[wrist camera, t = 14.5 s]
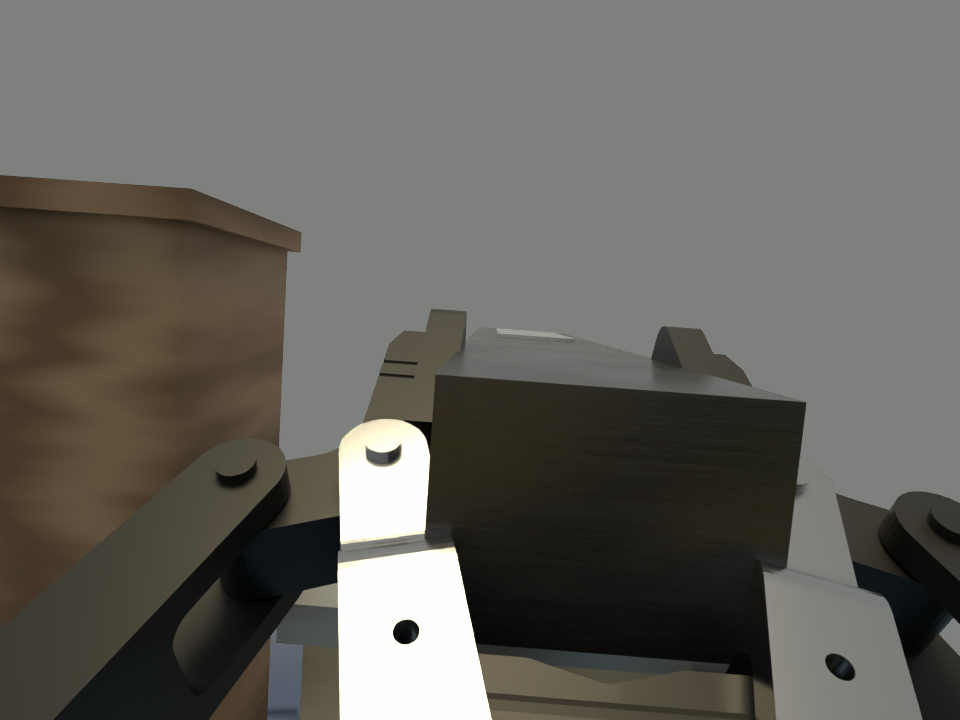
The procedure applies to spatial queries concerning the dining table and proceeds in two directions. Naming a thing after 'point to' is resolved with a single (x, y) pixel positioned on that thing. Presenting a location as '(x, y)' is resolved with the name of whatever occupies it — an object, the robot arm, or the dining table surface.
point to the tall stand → (127, 365)
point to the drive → (607, 495)
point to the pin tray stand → (319, 635)
